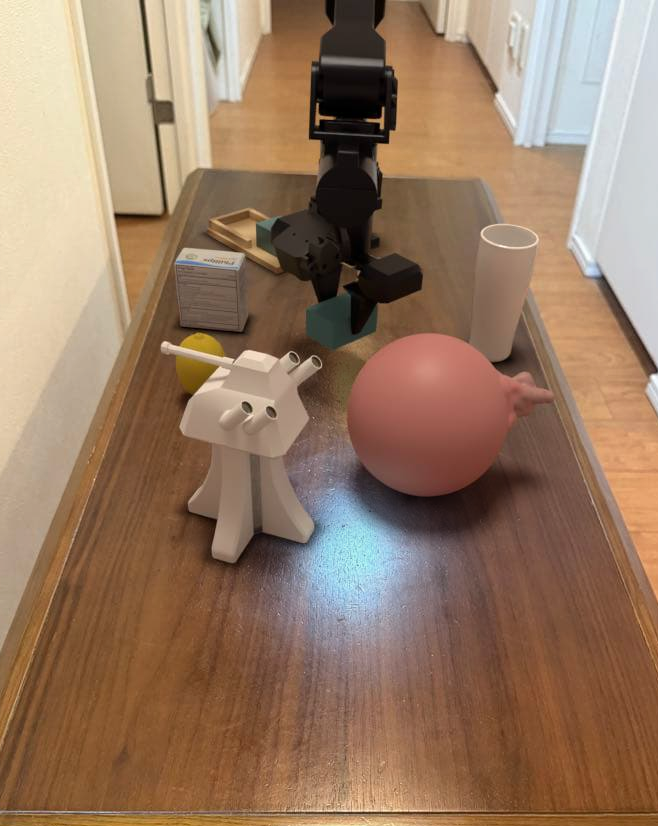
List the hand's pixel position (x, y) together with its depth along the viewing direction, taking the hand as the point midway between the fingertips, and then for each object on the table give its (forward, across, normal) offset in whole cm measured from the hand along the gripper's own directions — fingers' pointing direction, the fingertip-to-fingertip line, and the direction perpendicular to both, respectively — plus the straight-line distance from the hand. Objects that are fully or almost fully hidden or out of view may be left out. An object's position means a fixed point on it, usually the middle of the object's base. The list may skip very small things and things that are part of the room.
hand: (341, 325), depth 96 cm
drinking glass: (+6, +10, +17) cm, 20 cm away
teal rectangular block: (+1, 0, 0) cm, 1 cm away
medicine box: (+6, -18, -5) cm, 19 cm away
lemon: (+6, -4, -16) cm, 18 cm away
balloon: (+6, +22, -6) cm, 24 cm away
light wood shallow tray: (+5, -31, +14) cm, 35 cm away
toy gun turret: (+6, +14, -25) cm, 30 cm away
